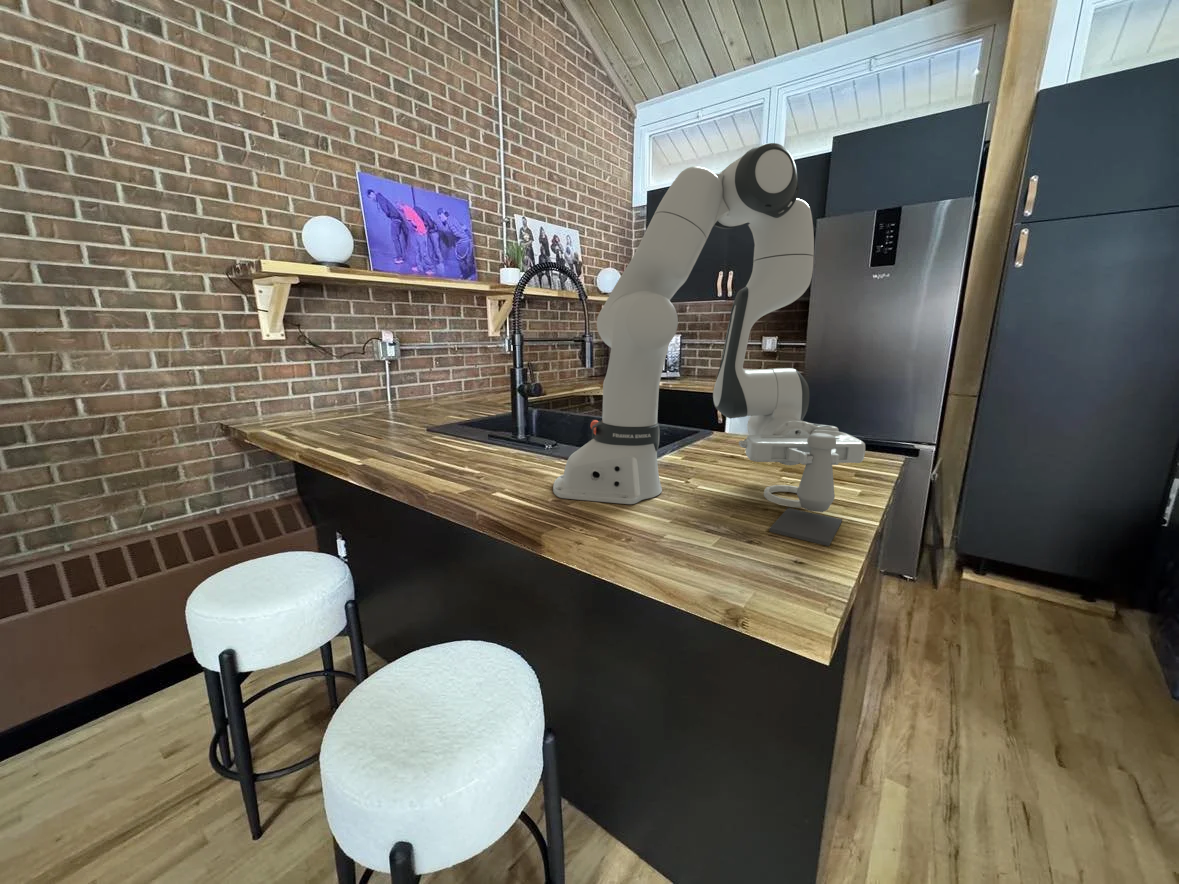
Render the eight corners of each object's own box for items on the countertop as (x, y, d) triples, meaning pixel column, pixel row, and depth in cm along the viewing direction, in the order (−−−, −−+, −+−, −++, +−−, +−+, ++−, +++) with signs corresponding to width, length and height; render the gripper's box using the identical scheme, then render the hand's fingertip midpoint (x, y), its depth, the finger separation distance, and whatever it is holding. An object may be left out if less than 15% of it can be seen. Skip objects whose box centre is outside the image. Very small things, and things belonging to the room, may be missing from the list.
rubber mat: (829, 546, 73) (829, 542, 73) (769, 531, 78) (769, 528, 78) (841, 522, 82) (842, 519, 82) (787, 510, 87) (788, 507, 87)
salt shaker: (836, 515, 78) (846, 438, 75) (799, 512, 79) (807, 436, 77) (827, 503, 84) (836, 431, 81) (793, 500, 85) (800, 430, 82)
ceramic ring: (774, 506, 89) (775, 500, 89) (757, 489, 99) (758, 484, 99) (828, 508, 89) (829, 502, 89) (805, 491, 99) (806, 485, 98)
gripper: (737, 425, 92) (760, 441, 78) (843, 426, 91) (885, 442, 78) (734, 456, 93) (757, 477, 80) (839, 457, 93) (879, 478, 79)
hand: (821, 460), depth 79 cm, fingers closed on salt shaker, 3 cm apart
